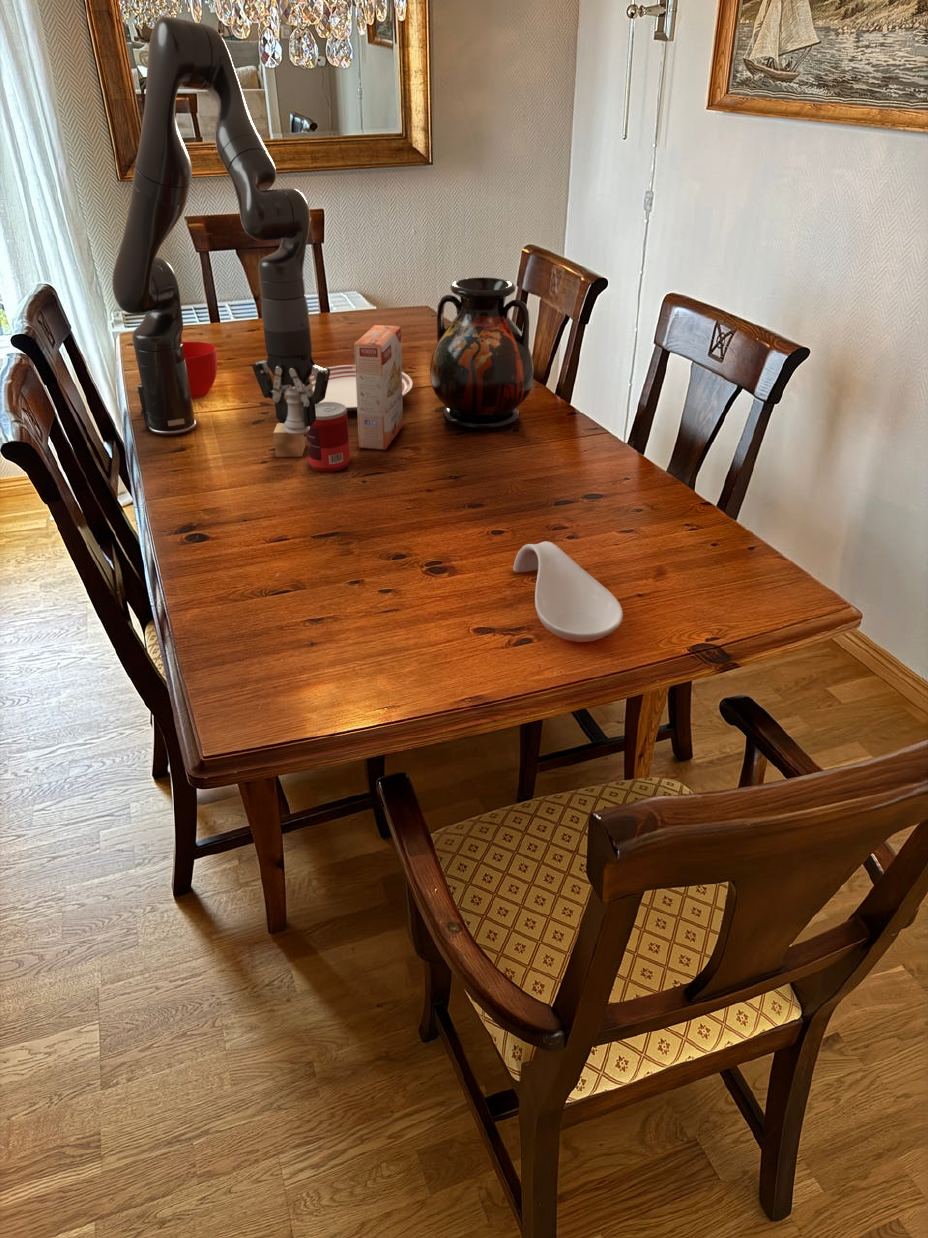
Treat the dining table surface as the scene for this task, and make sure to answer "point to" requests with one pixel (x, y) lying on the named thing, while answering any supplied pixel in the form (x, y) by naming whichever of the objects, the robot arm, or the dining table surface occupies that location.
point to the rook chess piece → (294, 413)
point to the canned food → (329, 438)
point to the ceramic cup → (200, 366)
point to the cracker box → (379, 386)
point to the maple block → (287, 443)
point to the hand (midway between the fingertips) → (296, 422)
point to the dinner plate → (349, 386)
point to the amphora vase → (482, 357)
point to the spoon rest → (568, 595)
